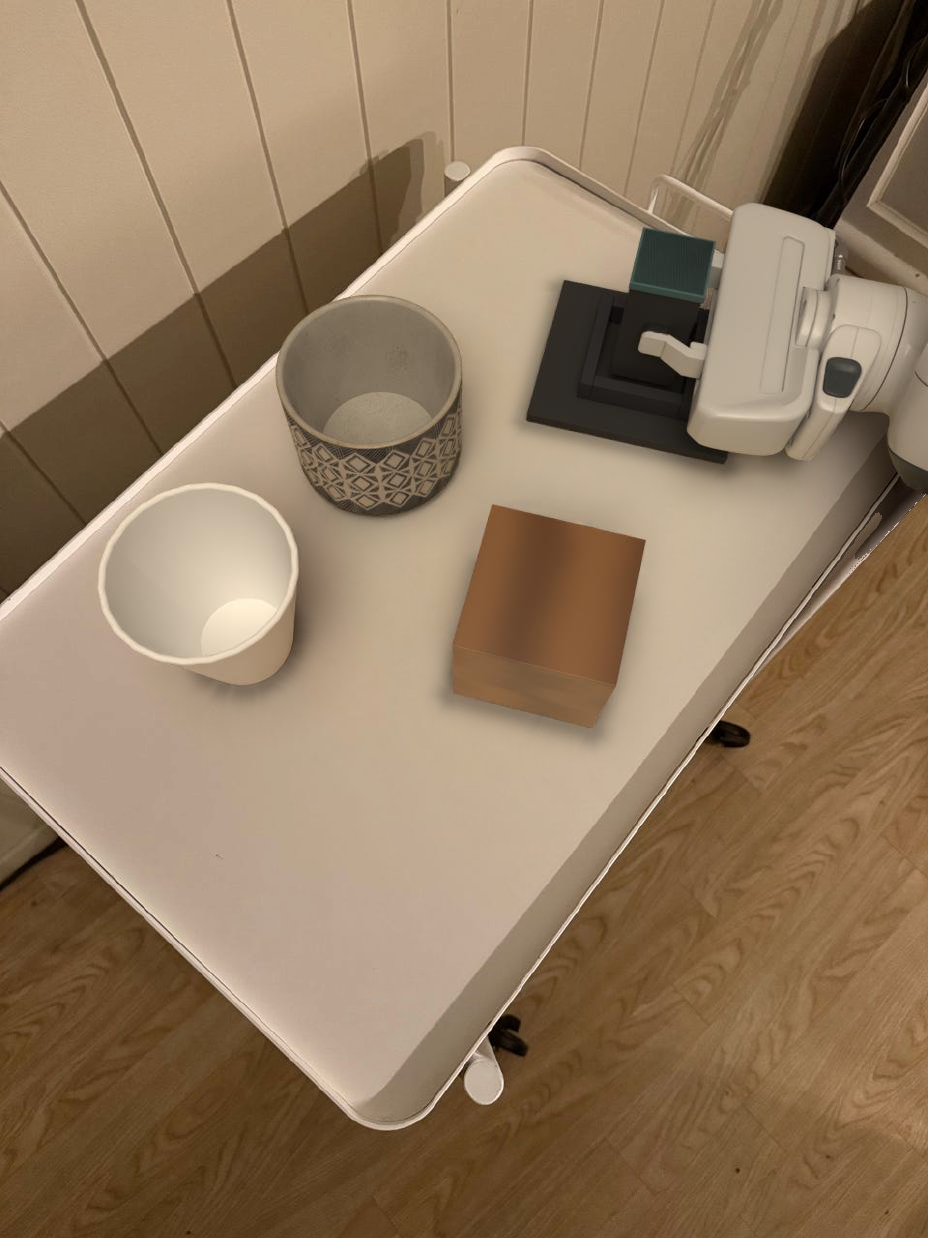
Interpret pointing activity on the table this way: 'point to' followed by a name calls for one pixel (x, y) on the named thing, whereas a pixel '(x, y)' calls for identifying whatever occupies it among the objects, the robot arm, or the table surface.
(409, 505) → the planter
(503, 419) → the table surface
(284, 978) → the table surface
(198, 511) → the cup
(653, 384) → the base pad
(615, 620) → the block
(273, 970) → the table surface
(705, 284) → the pad block
